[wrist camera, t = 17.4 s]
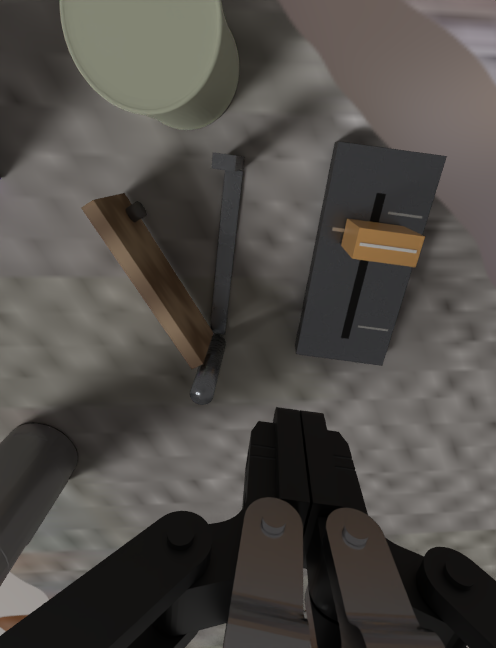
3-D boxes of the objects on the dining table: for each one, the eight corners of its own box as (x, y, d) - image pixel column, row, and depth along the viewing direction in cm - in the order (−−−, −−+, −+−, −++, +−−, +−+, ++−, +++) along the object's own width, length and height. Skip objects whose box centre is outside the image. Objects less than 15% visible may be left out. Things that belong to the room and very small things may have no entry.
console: (377, 356, 41) (382, 365, 39) (295, 345, 41) (296, 354, 39) (436, 156, 33) (446, 156, 31) (334, 142, 33) (338, 141, 31)
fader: (396, 253, 34) (415, 267, 29) (341, 245, 34) (352, 259, 29) (403, 226, 33) (425, 236, 28) (347, 218, 33) (359, 227, 28)
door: (223, 327, 40) (214, 358, 34) (203, 337, 40) (191, 369, 34) (134, 186, 34) (105, 191, 28) (114, 199, 35) (81, 207, 29)
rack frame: (224, 352, 42) (212, 406, 33) (206, 349, 42) (189, 403, 33) (246, 157, 34) (238, 155, 25) (224, 154, 34) (207, 151, 25)
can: (249, 13, 30) (237, -74, 19) (228, 140, 33) (207, 130, 22) (134, -15, 29) (52, -121, 18) (125, 117, 33) (53, 95, 22)
